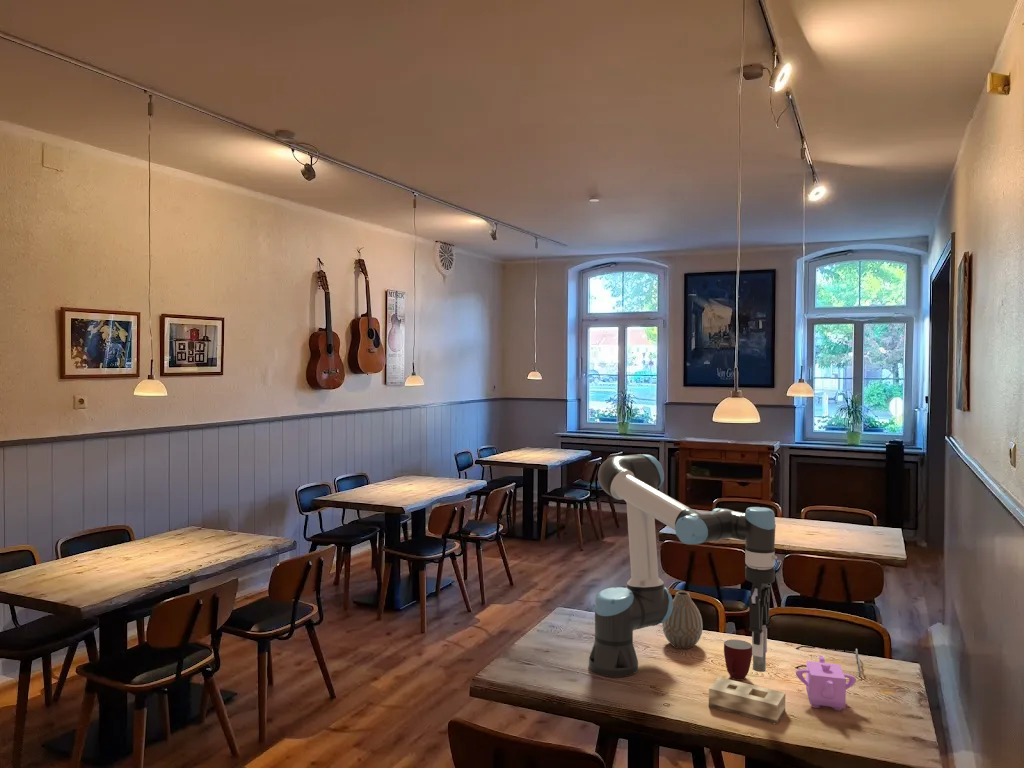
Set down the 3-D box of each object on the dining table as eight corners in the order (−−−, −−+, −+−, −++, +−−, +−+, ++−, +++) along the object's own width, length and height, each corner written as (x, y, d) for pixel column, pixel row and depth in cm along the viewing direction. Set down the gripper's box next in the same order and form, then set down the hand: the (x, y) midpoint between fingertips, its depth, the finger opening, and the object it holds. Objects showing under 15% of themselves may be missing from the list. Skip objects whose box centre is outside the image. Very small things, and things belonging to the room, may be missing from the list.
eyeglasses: (862, 679, 218) (861, 666, 218) (794, 671, 225) (794, 658, 225) (857, 658, 235) (857, 646, 235) (795, 651, 242) (794, 639, 242)
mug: (745, 688, 210) (745, 654, 210) (717, 682, 214) (718, 648, 214) (754, 676, 219) (755, 643, 219) (727, 669, 223) (728, 637, 223)
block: (708, 706, 198) (708, 688, 198) (718, 694, 206) (719, 677, 206) (777, 724, 188) (777, 705, 188) (785, 711, 196) (785, 692, 196)
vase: (706, 653, 237) (707, 599, 236) (666, 652, 237) (667, 599, 237) (697, 638, 250) (697, 587, 250) (658, 637, 250) (659, 587, 250)
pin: (751, 670, 195) (751, 625, 195) (754, 666, 197) (755, 622, 197) (763, 672, 193) (764, 627, 193) (766, 668, 196) (767, 624, 195)
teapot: (866, 710, 197) (866, 670, 197) (830, 719, 191) (830, 678, 191) (820, 688, 211) (821, 650, 211) (786, 696, 205) (786, 658, 205)
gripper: (766, 575, 186) (766, 666, 186) (781, 561, 200) (781, 647, 200) (737, 570, 190) (736, 660, 190) (753, 558, 204) (753, 641, 204)
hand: (759, 653), depth 195 cm, fingers closed on pin, 3 cm apart
